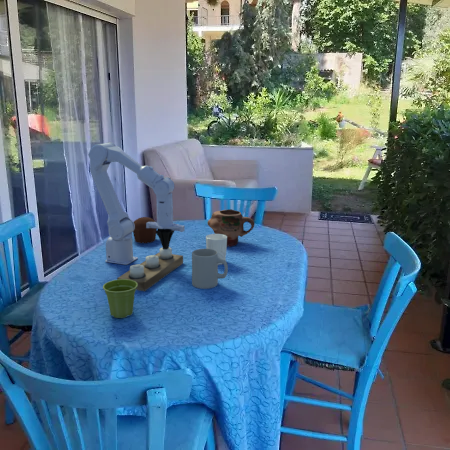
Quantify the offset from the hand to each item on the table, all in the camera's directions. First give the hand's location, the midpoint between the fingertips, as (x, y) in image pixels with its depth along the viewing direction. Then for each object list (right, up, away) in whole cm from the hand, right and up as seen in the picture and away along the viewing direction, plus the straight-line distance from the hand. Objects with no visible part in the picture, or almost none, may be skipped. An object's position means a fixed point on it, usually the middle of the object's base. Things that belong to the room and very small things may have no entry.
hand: (165, 248), depth 164 cm
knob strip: (-4, -9, -7) cm, 12 cm away
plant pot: (-8, -17, -37) cm, 41 cm away
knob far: (0, -3, +1) cm, 3 cm away
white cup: (+18, -6, +5) cm, 20 cm away
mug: (+17, -11, -16) cm, 25 cm away
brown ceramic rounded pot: (+24, +1, +28) cm, 37 cm away
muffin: (-13, +2, +31) cm, 34 cm away
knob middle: (-4, -5, -8) cm, 10 cm away
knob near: (-7, -8, -17) cm, 20 cm away
